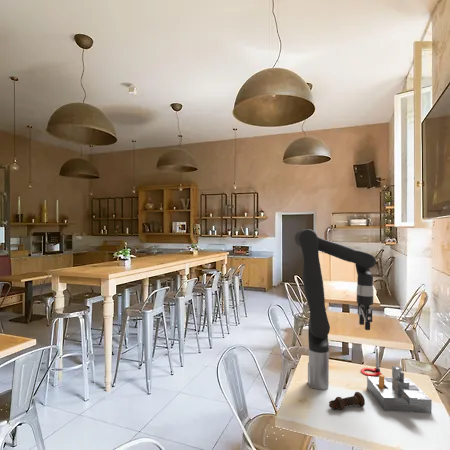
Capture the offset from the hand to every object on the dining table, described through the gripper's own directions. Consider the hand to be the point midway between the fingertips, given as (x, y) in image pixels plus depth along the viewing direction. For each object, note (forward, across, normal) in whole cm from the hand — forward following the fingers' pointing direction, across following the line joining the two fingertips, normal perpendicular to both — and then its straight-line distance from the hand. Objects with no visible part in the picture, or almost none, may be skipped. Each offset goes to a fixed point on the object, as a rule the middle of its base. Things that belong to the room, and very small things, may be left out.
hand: (364, 327), depth 159 cm
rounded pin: (+27, -14, -3) cm, 31 cm away
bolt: (+28, -23, +15) cm, 39 cm away
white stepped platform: (+27, -17, -10) cm, 33 cm away
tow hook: (+28, +12, -7) cm, 31 cm away
